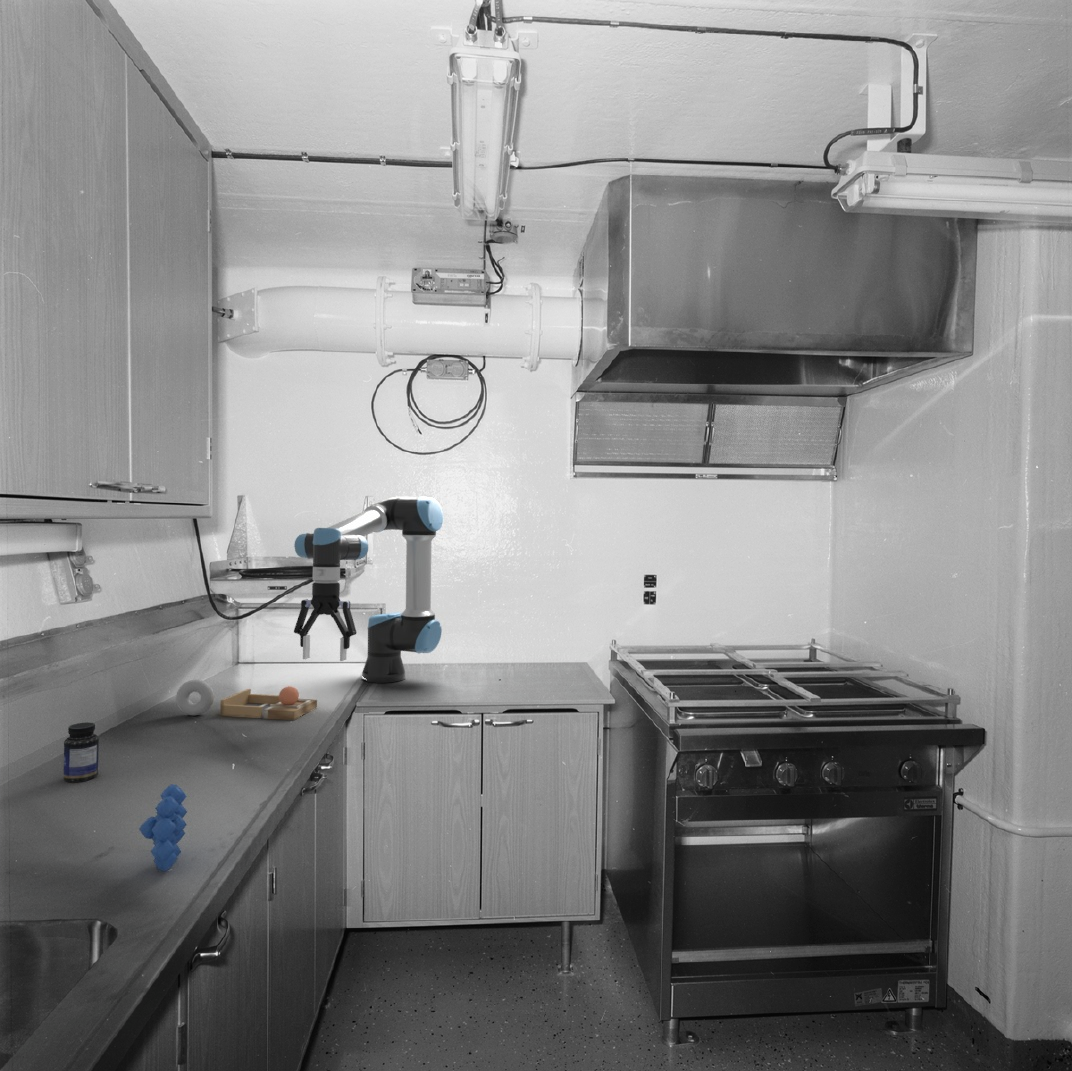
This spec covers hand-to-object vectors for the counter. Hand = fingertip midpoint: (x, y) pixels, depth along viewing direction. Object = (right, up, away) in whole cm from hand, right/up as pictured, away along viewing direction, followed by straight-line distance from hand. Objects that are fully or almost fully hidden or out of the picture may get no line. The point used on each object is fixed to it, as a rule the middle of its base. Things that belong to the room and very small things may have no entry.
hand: (324, 659), depth 199 cm
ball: (-10, -11, 0) cm, 15 cm away
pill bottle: (-35, -16, -53) cm, 65 cm away
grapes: (+1, -17, -89) cm, 90 cm away
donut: (-35, -15, -3) cm, 39 cm away
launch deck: (-10, -16, +1) cm, 19 cm away
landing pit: (-21, -15, +3) cm, 26 cm away
